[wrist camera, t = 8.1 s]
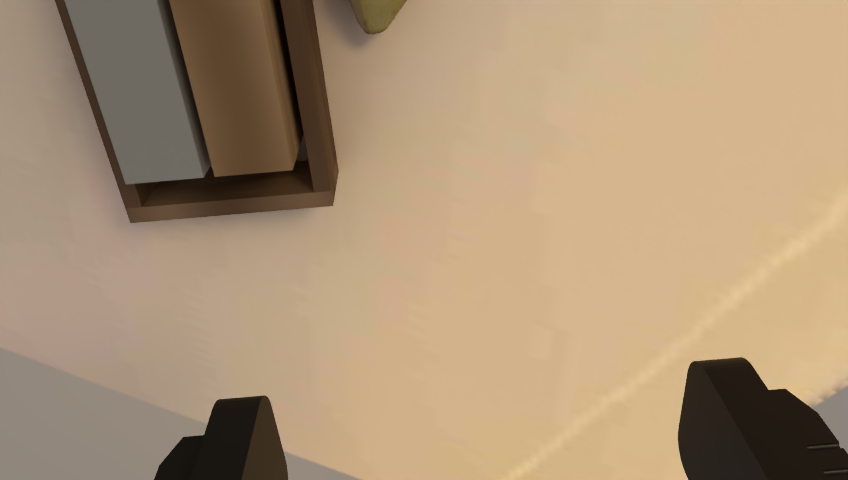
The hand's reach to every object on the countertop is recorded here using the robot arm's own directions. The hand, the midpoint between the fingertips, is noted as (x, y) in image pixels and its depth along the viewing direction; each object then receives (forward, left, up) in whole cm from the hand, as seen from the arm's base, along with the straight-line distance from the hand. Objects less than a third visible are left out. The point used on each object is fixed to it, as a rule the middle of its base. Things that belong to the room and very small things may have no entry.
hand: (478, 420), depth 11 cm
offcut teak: (+8, 0, -26) cm, 27 cm away
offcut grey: (+12, 0, -26) cm, 29 cm away
